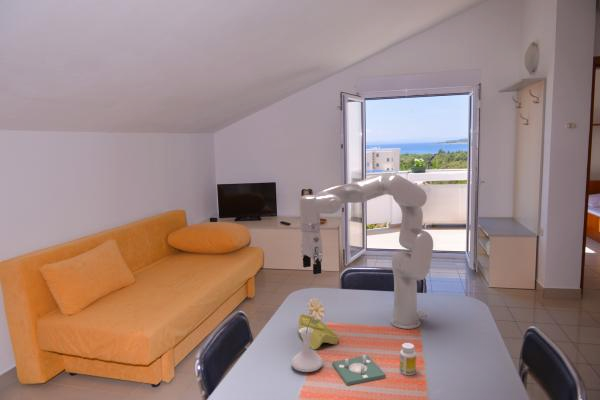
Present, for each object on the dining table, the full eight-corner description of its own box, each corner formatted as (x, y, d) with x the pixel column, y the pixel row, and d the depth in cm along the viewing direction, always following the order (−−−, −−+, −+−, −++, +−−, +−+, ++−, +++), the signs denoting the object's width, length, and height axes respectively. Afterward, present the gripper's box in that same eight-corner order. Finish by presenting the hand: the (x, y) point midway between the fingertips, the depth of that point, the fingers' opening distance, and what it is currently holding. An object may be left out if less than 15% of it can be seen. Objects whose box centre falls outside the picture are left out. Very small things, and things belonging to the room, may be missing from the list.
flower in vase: (300, 378, 149) (298, 308, 145) (286, 364, 159) (283, 298, 155) (333, 368, 155) (331, 300, 151) (317, 354, 165) (315, 291, 161)
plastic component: (341, 338, 173) (322, 333, 168) (334, 355, 172) (315, 351, 167) (316, 317, 190) (298, 312, 185) (309, 333, 190) (291, 328, 185)
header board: (367, 358, 161) (367, 347, 160) (385, 377, 148) (385, 366, 147) (332, 364, 157) (331, 353, 157) (347, 385, 144) (346, 373, 143)
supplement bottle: (397, 372, 151) (397, 346, 149) (403, 365, 155) (403, 340, 153) (412, 377, 147) (412, 350, 146) (418, 370, 151) (418, 344, 150)
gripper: (329, 230, 162) (330, 274, 164) (310, 222, 177) (311, 263, 180) (310, 232, 159) (312, 278, 161) (293, 224, 175) (294, 265, 177)
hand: (312, 270), depth 171 cm, fingers open, 9 cm apart
